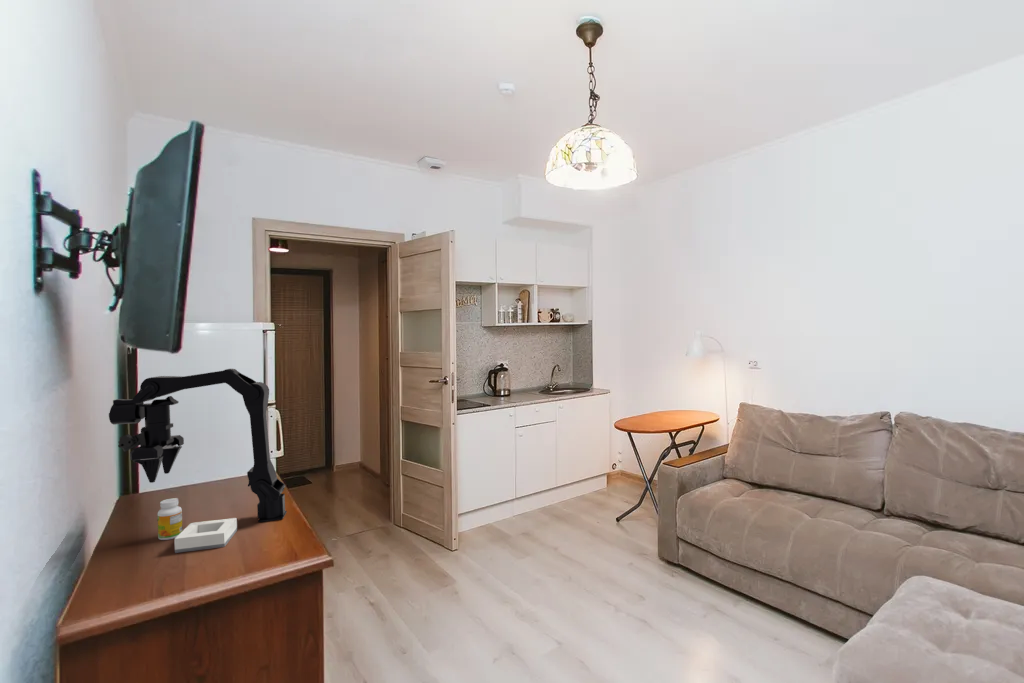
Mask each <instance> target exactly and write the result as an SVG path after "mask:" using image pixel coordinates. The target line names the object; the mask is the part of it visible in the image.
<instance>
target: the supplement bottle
mask: <svg viewBox="0 0 1024 683" xmlns="http://www.w3.org/2000/svg"><path fill="white" fill-rule="evenodd" d="M159 505H160V509H159V510H158V512H157V538H158V540H161V541H168V540H174V539H175V538H176V537H177V536H178V535H179V534H180V533H181V532H182V531H183V530H184V529H183V511H182V509H183V508H182V507H181V506H179V498H178V497H175V498H173V497H172V498H167V499H163V500H161V501H160V502H159Z"/></svg>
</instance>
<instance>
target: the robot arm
mask: <svg viewBox="0 0 1024 683" xmlns="http://www.w3.org/2000/svg"><path fill="white" fill-rule="evenodd" d="M219 384H221V385H222V384H226V385H228V386H229V387H230V388H232V389H233V391H235V392H237V394H239V395H241V396H242V399H243V403H244V406H245V408H246V410H247V412H248V414H249V420H250V422H249V424H250V432H251V441H252V442H251V444H252V455H253V456H252V457H253V466H252V467H251V468H250V469H248V471H247V472H246V474H247V480H248V484H247V487H250V490H251V492H252V493H253V494H255V495H256V497H257V498H258V503H257V519H258V520H257V521H258V523H263V522H264V523H265V522H272V521H281V520H283V519H284V518H285V516H286V514H287V510H286V499H285V498H286V496H285V493H283V492H284V491H285V487H286V484H285V483H284V482H283V481H281V480H280V479H279V478H278V476H277V472H276V470H275V469H276V468H275V467H274V464H273V462H272V460H271V455H270V444H269V443H270V442H269V434H268V433H269V432H268V431H269V430H268V423H267V422H268V419H267V409H268V404H269V397H270V389H269V386H268V385H267V384H266V383H264V382H261V381H255V380H254V379H253V378H250V377H249V376H247V375H245V374H243V373H241V372H240V371H238V370H237V369H236V368H226V369H224V370H219V371H212V372H211V371H210V372H206V373H204V372H203V373H199V374H193V375H186V376H181V375H180V376H179V375H178V376H177V375H159V376H158V375H157V376H153V377H152V376H151V377H148V378H146V379H144V380H143V381H142V382H141V383H140V387H139V388H140V389H139V390H138V391H137V393H136V394H135V396H134V397H133V398H132V399H123V398H118V399H113V400H112V405H111V406H110V409H109V413H108V419H109V422H110V423H111V424H112V425H125V424H126V425H128V424H129V425H130V424H140V423H141V421H142V420H143V419H144V426H143V427H141V429H140V433H138V434H136V435H135V434H134V435H133V436H132V435H131V434H129V433H128V434H125V435H122V436H121V437H119V441H118V446H117V447H118V448H121V449H122V450H123V452H127V451H129V450H131V451H130V453H129V460H130V461H133V463H137V464H139V465H141V467H142V469H143V470H144V473H145V475H146V477H147V479H148V480H147V481H148V482H149V483H150V484H151V483H152V484H153V483H155V482H156V481H157V480H156V479H157V478H158V473H159V470H160V468H161V466H162V470H163V473H164V475H165V474H167V475H168V474H169V473H170V472H171V470H172V468H173V466H174V463H175V462H176V459H177V457H178V456H179V455H178V454H179V453H180V451H181V449H182V448H183V446H182V445H184V444H185V442H184V440H185V438H184V437H183V436H182V435H181V434H178V435H177V434H176V435H172V434H171V432H172V431H171V430H172V429H171V428H174V423H173V422H172V423H171V410H170V409H171V408H170V407H171V406H174V405H177V404H179V400H177V399H175V398H174V397H173V396H172V395H171V394H175V393H177V392H180V391H183V390H190V389H194V388H202V387H207V386H213V385H219ZM167 395H168V396H167ZM163 396H165V399H164V398H161V399H160V397H163ZM166 396H167V397H166ZM157 398H159V399H157ZM149 401H151V402H150V403H149ZM145 402H148V403H145Z"/></svg>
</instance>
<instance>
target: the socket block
mask: <svg viewBox="0 0 1024 683" xmlns="http://www.w3.org/2000/svg"><path fill="white" fill-rule="evenodd" d="M237 531H238V520H237V517H230V518H224V519H215V520H214V519H213V520H205V521H195V522H190V523H189V524H188V525H186V527H185V528H184V529H183V531H182V532H181V533H180V534H179V535H178V536H177V537H176V538H174V539H173V540H174V554H177V553H186V552H194V551H201V550H209V549H217V548H225V547H226V545H227V544H228V543H229V542H230V541H231V540H232V538H233V537H234V535H235V534H236V533H237Z"/></svg>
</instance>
